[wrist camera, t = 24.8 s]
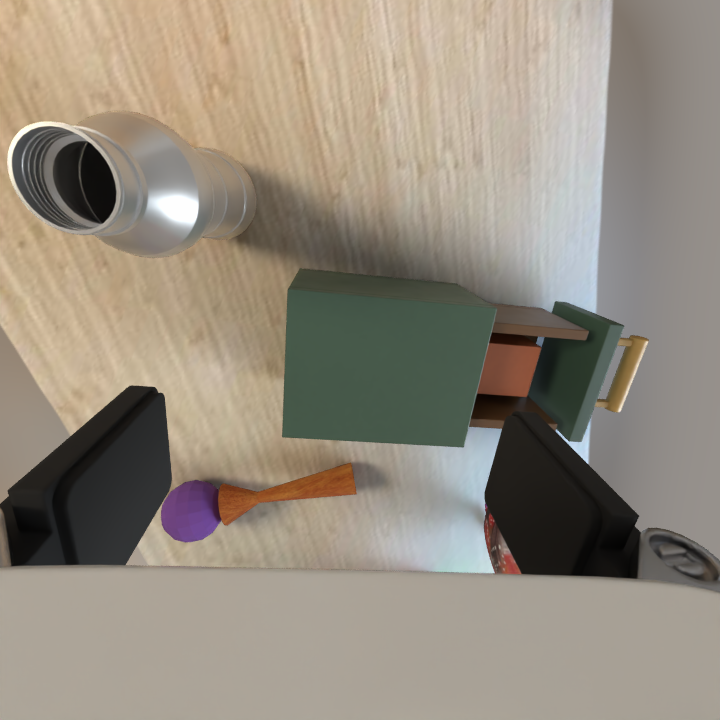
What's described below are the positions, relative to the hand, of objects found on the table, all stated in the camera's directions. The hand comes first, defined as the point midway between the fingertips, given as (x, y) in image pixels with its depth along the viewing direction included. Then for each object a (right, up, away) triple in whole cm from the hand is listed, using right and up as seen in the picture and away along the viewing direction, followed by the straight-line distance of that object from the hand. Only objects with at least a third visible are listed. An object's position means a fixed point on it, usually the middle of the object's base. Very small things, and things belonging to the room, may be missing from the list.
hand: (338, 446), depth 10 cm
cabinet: (+2, +5, +27) cm, 27 cm away
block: (+13, +3, +26) cm, 29 cm away
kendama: (-10, -11, +32) cm, 36 cm away
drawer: (+16, +3, +27) cm, 31 cm away
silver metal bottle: (-11, +16, +22) cm, 29 cm away
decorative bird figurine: (+16, -15, +36) cm, 42 cm away
